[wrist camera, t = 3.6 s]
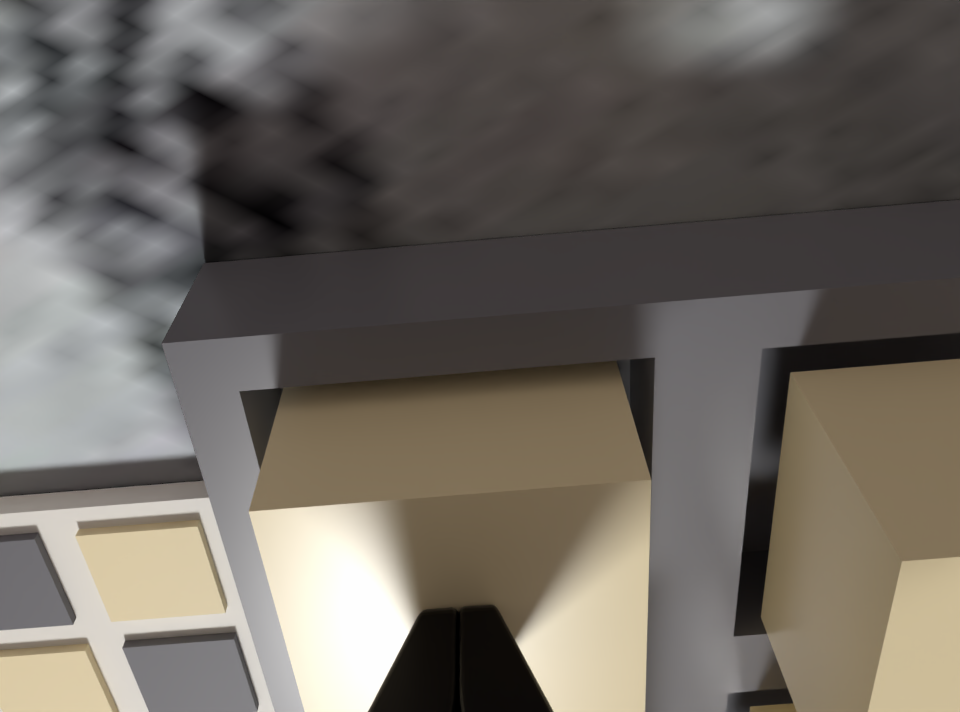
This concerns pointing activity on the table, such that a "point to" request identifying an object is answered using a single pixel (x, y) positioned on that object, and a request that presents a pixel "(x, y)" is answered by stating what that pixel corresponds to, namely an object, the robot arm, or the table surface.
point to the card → (122, 605)
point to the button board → (586, 339)
